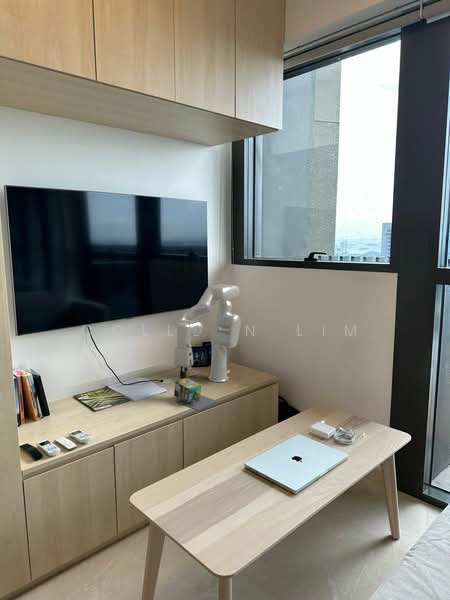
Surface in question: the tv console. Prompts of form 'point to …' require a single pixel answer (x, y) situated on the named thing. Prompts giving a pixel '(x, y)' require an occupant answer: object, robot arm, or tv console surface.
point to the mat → (198, 403)
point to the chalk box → (187, 390)
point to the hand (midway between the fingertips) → (183, 377)
